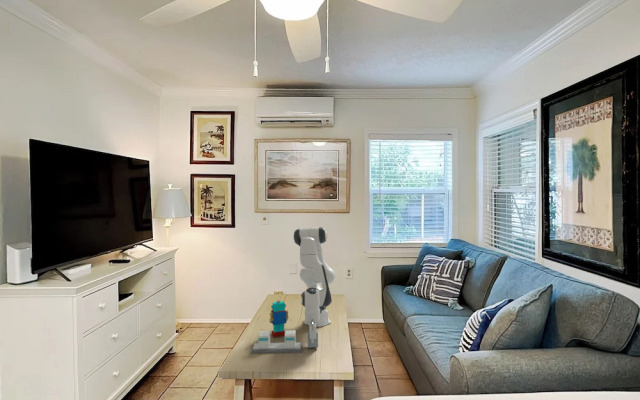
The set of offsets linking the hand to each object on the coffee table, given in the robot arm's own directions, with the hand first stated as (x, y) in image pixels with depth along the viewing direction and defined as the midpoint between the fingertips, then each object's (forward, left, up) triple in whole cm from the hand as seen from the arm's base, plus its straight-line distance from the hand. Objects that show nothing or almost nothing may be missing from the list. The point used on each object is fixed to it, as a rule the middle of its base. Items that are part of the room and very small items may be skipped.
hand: (312, 340), depth 209 cm
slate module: (0, 0, -3) cm, 3 cm away
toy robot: (-20, -22, -5) cm, 29 cm away
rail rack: (0, -21, -5) cm, 21 cm away
